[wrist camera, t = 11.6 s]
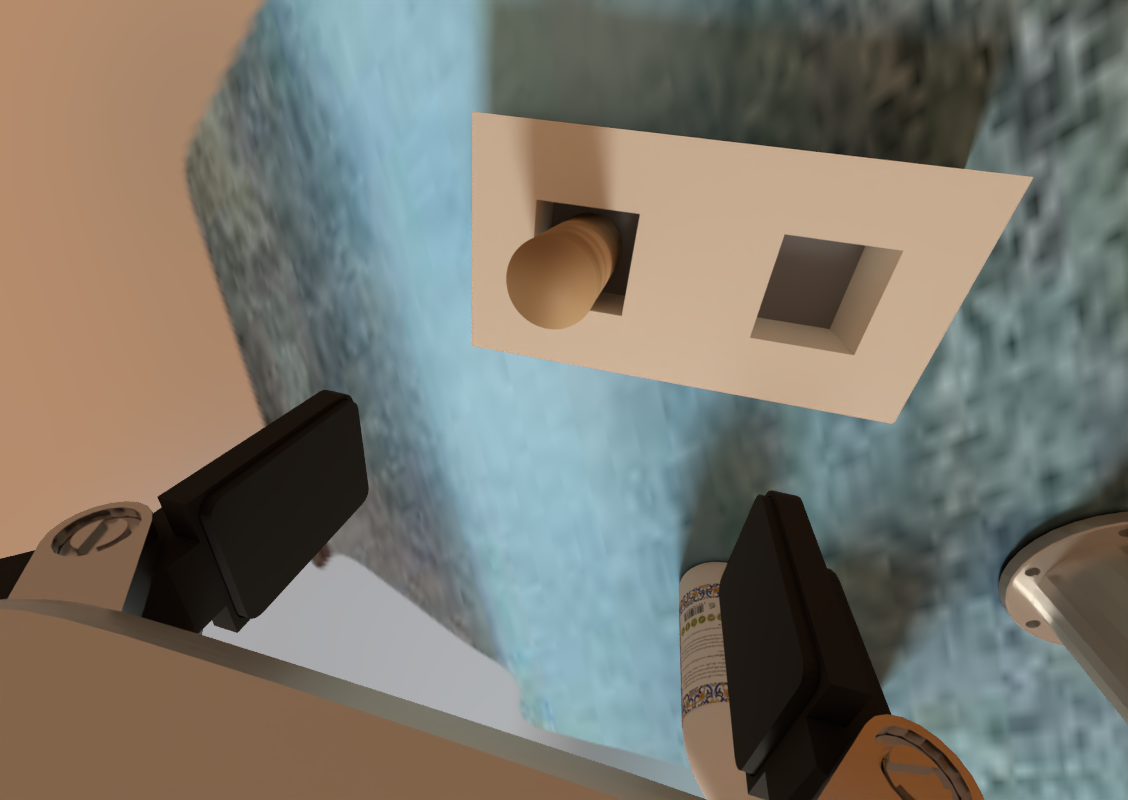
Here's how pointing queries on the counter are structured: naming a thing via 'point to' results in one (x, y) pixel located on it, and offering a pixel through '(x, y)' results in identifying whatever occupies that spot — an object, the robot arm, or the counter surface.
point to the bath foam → (707, 687)
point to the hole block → (738, 259)
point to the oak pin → (563, 270)
